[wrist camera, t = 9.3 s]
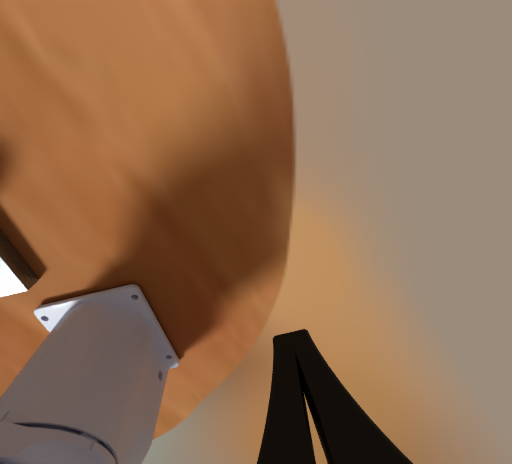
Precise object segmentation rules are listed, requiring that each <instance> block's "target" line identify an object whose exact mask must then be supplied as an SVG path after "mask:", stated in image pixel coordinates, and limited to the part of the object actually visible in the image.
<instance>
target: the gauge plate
mask: <svg viewBox="0 0 512 464" xmlns="http://www.w3.org/2000/svg"><path fill="white" fill-rule="evenodd" d="M38 280H39V279H38V278H37V277H36V275H35V274H34V273H33V271H32V270H31V269H30V267H29V266H28V265H27V264H26V262H25V261H24V260H23V258H22V257H21V256H20V254H19V253H18V252H17V251H16V249H15V248H14V247H13V245H12V244H11V243H10V241H9V240H8V239H7V238H6V236H5V235H4V234H3V232H2V231H1V230H0V297H3V296H7V295H11V294H15V293H20V292H24V291H28V290H29V289H30V288H31V287H32V286H33V285H34V284H35V283H36V282H37V281H38Z"/></svg>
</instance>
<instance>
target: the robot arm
mask: <svg viewBox="0 0 512 464" xmlns="http://www.w3.org/2000/svg"><path fill="white" fill-rule="evenodd" d="M134 295H137V296H138V297H135V296H134ZM34 314H35V316H36V317H37V318H38V319H39V320H40V322H41V323H42V324H43V325H44V326H45V328H46V329H47V330H48V331H49V332H50V333H49V335H48V336H47V337H46V338H45V340H44V341H43V342H42V344H41V345H40V346H39V348H38V349H37V350H36V352H35V353H34V354H33V355H32V357H31V358H30V359H29V361H28V362H27V363H26V365H25V366H24V367H23V369H22V370H21V371H20V372H19V374H18V375H17V376H16V378H15V379H14V380H13V382H12V383H11V384H10V386H9V387H8V388H7V390H6V391H5V392H4V393H3V395H2V396H1V397H0V464H141V463H142V461H143V460H144V458H145V456H146V454H147V452H148V450H149V448H150V446H151V443H152V440H153V436H154V432H155V427H156V423H157V418H158V414H159V409H160V405H161V400H162V396H163V391H164V387H165V382H166V378H167V373H168V369H171V368H175V367H177V366H178V365H179V359H178V357H177V355H176V353H175V351H174V350H173V348H172V346H171V344H170V342H169V340H168V339H167V337H166V335H165V333H164V331H163V330H162V328H161V326H160V324H159V322H158V320H157V319H156V317H155V315H154V313H153V311H152V310H151V308H150V306H149V304H148V302H147V300H146V299H145V297H144V295H143V293H142V291H141V289H140V288H139V287H138V286H137V285H135V284H130V285H125V286H121V287H117V288H113V289H108V290H104V291H100V292H96V293H91V294H87V295H83V296H79V297H74V298H70V299H66V300H62V301H57V302H53V303H49V304H45V305H40V306H38V307H37V308H36V309H35V310H34ZM273 347H274V348H273V349H274V356H273V374H272V384H271V392H270V400H269V406H268V413H267V418H266V424H265V429H264V434H263V439H262V444H261V448H260V453H259V457H258V461H257V464H316V461H315V456H314V450H313V444H312V438H311V433H310V426H309V421H308V415H307V409H306V403H305V397H306V400H307V403H308V406H309V409H310V412H311V415H312V418H313V421H314V424H315V427H316V430H317V433H318V435H319V439H320V441H321V445H322V448H323V450H324V453H325V456H326V459H327V463H328V464H413V463H412V462H411V461H410V460H409V459H408V458H407V457H406V456H405V455H404V454H403V453H402V452H401V451H400V450H399V449H398V448H397V447H396V446H395V445H394V444H393V443H392V442H391V441H390V440H389V438H387V436H385V434H384V433H383V432H382V431H381V430H380V429H379V428H378V427H377V425H376V424H375V423H374V422H373V421H372V420H371V419H370V418H369V416H368V415H367V414H366V413H365V412H364V411H363V410H362V408H361V407H360V406H359V405H358V404H357V402H356V401H355V400H354V399H353V397H352V396H351V395H350V394H349V392H348V391H347V390H346V389H345V388H344V386H343V385H342V384H341V382H340V381H339V379H338V378H337V377H336V375H335V374H334V373H333V371H332V370H331V368H330V367H329V366H328V364H327V363H326V361H325V360H324V358H323V357H322V355H321V354H320V352H319V351H318V349H317V347H316V346H315V344H314V342H313V340H312V339H311V337H310V335H309V332H308V331H307V330H305V329H303V330H298V331H294V332H290V333H286V334H281V335H277V336H274V338H273ZM304 394H305V397H304Z"/></svg>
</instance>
